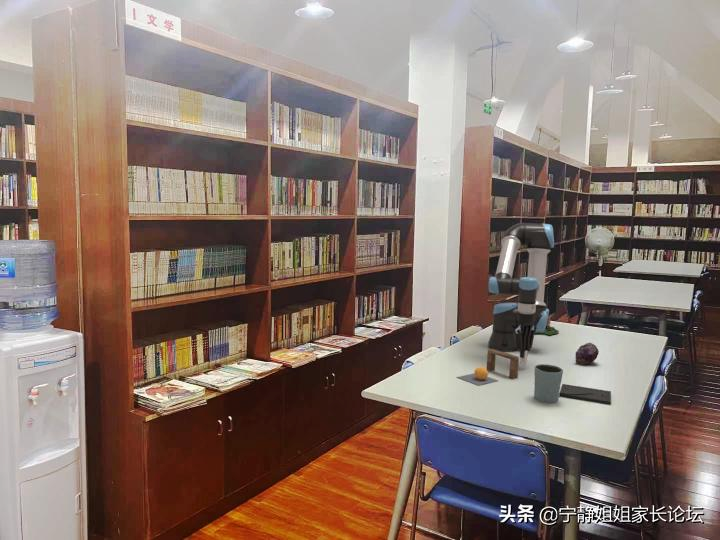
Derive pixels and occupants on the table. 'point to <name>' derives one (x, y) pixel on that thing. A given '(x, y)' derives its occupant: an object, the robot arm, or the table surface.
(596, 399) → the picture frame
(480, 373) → the ball
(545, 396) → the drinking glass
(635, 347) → the table surface
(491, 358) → the bridge
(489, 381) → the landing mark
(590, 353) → the rock
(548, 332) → the bonsai tree
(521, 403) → the table surface
